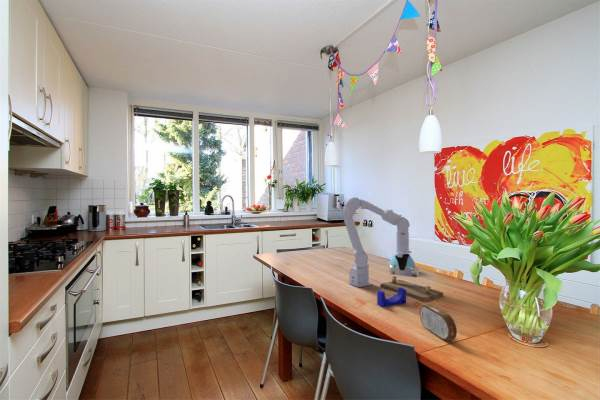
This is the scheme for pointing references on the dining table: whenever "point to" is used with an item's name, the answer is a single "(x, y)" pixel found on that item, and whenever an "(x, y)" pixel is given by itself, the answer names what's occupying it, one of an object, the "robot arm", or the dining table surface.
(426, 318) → the speaker
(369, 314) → the dining table surface
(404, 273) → the silver cylinder
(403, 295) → the cable clip
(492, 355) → the dining table surface
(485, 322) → the dining table surface
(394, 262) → the sugar bowl
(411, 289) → the peg rack
